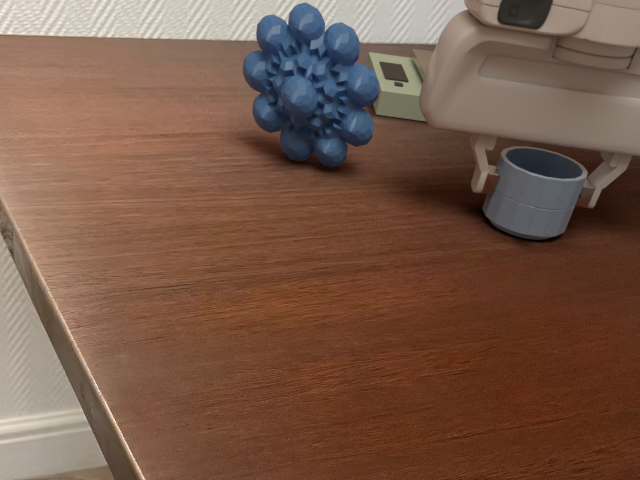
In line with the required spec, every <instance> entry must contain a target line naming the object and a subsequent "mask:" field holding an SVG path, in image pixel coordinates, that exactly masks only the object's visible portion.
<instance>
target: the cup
mask: <svg viewBox="0 0 640 480" xmlns="http://www.w3.org/2000/svg"><path fill="white" fill-rule="evenodd" d="M495 166H496V168H497V171H498V172H499V174H500V177H499V180H498V183H497V184H496V185H495V188H496V189H495V192H494V194H493V195H489V194H486V196H485V199H484V202H483V205H482V209H481V210H482V212H483V215H484V216H485V217H486V218H487V219H488V220H489V222H490V223H491V224H492V225H493V226H494V227H495V228H497V229H499V230H501V231H502V232H505V233H507V234H509V235H512V236H515V237H518V238H522V239H526V240H527V239H528V240H537V241H539V240H541V241H542V240H548V239H551V238H556V237H558V236H560V235H562V234H564V233H565V232H566V229H567V227H568V224H569V222H570V220H571V217H572V215H573V212H574V209H575V207H576V206H575V205H576V202H577V200H578V198H579V195H580V193H581V190H582V188H583V185H584V183H585V180H586V178H587V177H588V176H589V175H588V174H589V171H588V170H587V168H585V166H584V165H583V164H581V162H578V161H576V160H575V159H574V158H571V157H569V156H567V155H564V154H562V153H559V152H555V151H552V150H548V149H545V148H539V147H533V146H521V145H520V146H510V147H507V148H503V149H502V151H501V152H500V154H499V157H498V160H497V163H496V165H495Z"/></svg>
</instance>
